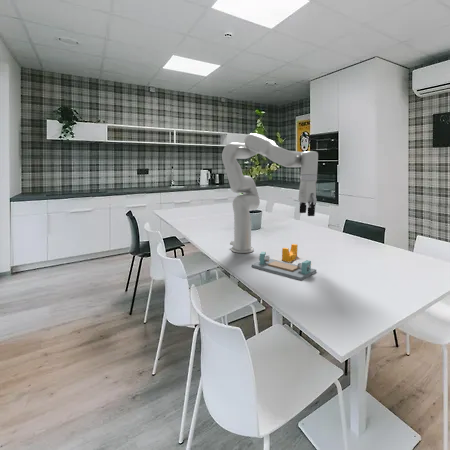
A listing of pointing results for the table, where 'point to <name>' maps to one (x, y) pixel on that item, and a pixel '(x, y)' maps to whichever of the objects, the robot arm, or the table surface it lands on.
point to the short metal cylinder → (265, 258)
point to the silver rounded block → (301, 266)
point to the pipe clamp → (289, 253)
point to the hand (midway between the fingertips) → (306, 214)
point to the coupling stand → (284, 268)
